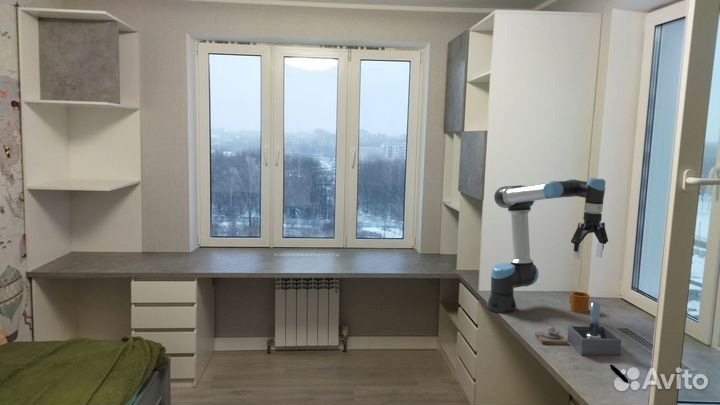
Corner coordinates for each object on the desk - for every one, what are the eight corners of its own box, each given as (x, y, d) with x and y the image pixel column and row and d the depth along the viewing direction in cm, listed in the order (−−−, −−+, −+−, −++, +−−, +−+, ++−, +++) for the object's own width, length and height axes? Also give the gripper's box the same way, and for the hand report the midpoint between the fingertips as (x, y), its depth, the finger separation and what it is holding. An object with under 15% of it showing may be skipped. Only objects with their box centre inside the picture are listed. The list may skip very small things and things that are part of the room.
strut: (583, 343, 227) (585, 300, 225) (596, 343, 227) (599, 301, 225) (588, 348, 222) (591, 305, 219) (602, 348, 221) (605, 305, 219)
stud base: (534, 334, 239) (535, 321, 239) (558, 335, 239) (559, 322, 238) (542, 344, 229) (542, 330, 228) (567, 344, 228) (568, 331, 227)
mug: (580, 305, 281) (581, 289, 280) (591, 313, 269) (593, 296, 268) (564, 305, 280) (565, 289, 279) (574, 313, 269) (576, 296, 267)
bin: (567, 340, 233) (568, 325, 232) (603, 341, 232) (604, 326, 231) (581, 355, 217) (582, 339, 216) (620, 356, 216) (621, 339, 215)
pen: (611, 367, 206) (612, 363, 206) (629, 384, 193) (629, 379, 192) (607, 367, 206) (608, 363, 206) (625, 384, 193) (625, 379, 192)
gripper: (578, 214, 228) (573, 261, 232) (620, 213, 238) (614, 258, 241) (565, 211, 235) (560, 257, 238) (606, 210, 245) (601, 254, 248)
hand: (587, 257), depth 240 cm, fingers open, 13 cm apart
